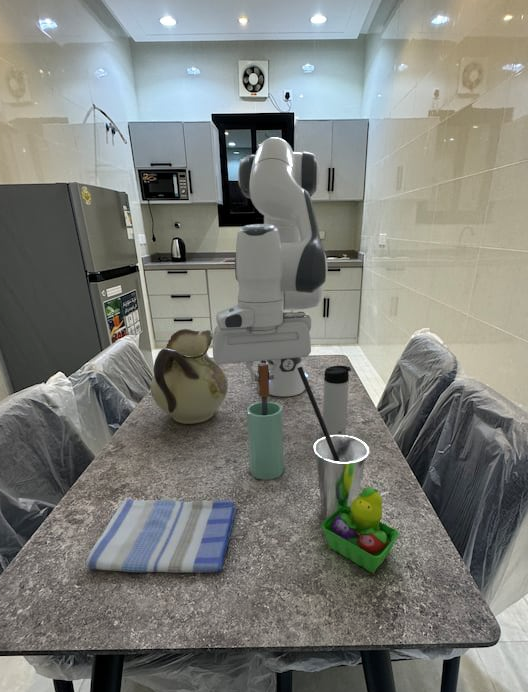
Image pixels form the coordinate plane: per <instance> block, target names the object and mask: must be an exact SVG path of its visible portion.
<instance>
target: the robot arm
mask: <svg viewBox="0 0 528 692" xmlns="http://www.w3.org/2000/svg"><path fill="white" fill-rule="evenodd" d="M237 172H238V173H237V182H238V186H239V189H240V191H241V194H242V195H243V196H244V197H245V198H247V199H250V200H251V201H250V202H251V203H252V205H253V206H254V208H255V209H256V210H257V211H258V212H259V213H260V214H261V215H262V216H263V223H253V224H246V225H244V226H241V227H240V228H239V229H238V231H237V236H236V245H235V246H236V247H235V257H234V272H235V274H234V275H235V280H236V281H237V282H238V294H237V304H236V305H233V306H231V307H229V308H225V309H223V310H220V311H218V312H217V313H216V317H215V319H216V324H217V325H216V326H215V328H214V330H213V333H212V360H213V361H214V362H215V363H217V364H218V365H228V364H239V363H244V365H245V366H246V368H247V370H248V371H249V372H250V379H251V382H259V373H258V370H254V368H253V367H254V362H261V363H267V364H268V369H269V396H274V397H284V398H285V397H294V396H297V395H301V394H302V393H304V391H306V389H305V386H304V384H303V381H302V379H301V377H300V374H299V372H298V369H297V368H299V367H302V368H303V370H304V373H305V375H306V378H308V374H307V373H306V372H307V371H306V365H304V364H303V362H302V358H307V357H309V355H310V354H311V353H312V341H311V334H310V331H311V329H312V318H311V316H310V315H309V314H308V313H305V311H304V310H308V309H312V308H317V307H318V306H319V305H320V303H321V302H322V300H323V297H324V284H326V279H327V276H328V265H329V264H328V259H327V255H326V252H325V250H324V246H323V243H322V239H321V234H320V231H319V226H318V221H317V217H316V212H315V208H314V204H313V200H312V198H311V197H312V196H314V194H315V193H316V192H317V189H318V187H319V184H320V181H321V168H320V163H319V161H318V157H317V156H316V155H315V153H312V152H308V151H302V152H297V151H293V148H292V146H291V145H290V143H289V142H287V141H286V140H285V139H283V138H281V137H269V138H266V139H265V140H263V141H262V142H261V143H260V144H259V146H258V148H257V150H256V152H255V153H251V154H249V155H246V156H244V157H243V158H242V159H241V161H240V162H239V167H238V171H237ZM302 310H303V311H302ZM284 311H285V312H284ZM287 311H290V312H287ZM293 311H297V312H293ZM309 385H310V386H311V384H310V383H309ZM257 388H258V389H257V391H258V393H259V386H258V387H257Z"/></svg>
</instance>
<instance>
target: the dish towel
mask: <svg viewBox="0 0 528 692" xmlns="http://www.w3.org/2000/svg"><path fill="white" fill-rule="evenodd" d="M237 510H238V508H237V507H235V501H234V500H231V499H218V500H217V499H216V500H192V501H178V500H173V499H155V500H154V499H153V500H149V499H148V500H136V499H131V498H126V499H123V500H121V503H120V506H119V507H118V509H116V512H115V513H114V514H113V516H112V517H111V519H110V521H109V522H108V524H107V525H106V527H105V529H104V531H103V532H102V533H101V535H100V537H99V538H98V539H97V541H96V542H95V543H94V546H93V547H92V549H90V552H89V554H88V555H87V557H86V561H85V567H86V569H87V570H99V571H101V570H102V571H114V572H125V573H127V572H128V573H170V574H171V573H172V574H174V573H175V574H178V573H220V572H222V571H223V568H224V563H225V558H226V553H227V550H228V546H229V542H230V538H231V536H232V531H233V527H234V522H235V517H236V513H237Z"/></svg>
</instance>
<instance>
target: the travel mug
mask: <svg viewBox="0 0 528 692" xmlns="http://www.w3.org/2000/svg"><path fill="white" fill-rule="evenodd" d="M351 368H352V367H351V366H347V365H333V366H332V365H331V366H329V367H326V368H325V370H324V374H323V375H324V377H323V399H322V418H323V420H324V423H325V425H326V428H327V430H328V433H329V435H346V431H347V416H348V415H347V414H348V399H349V381H350V380H349V378H350V374H349V373H350V372H351V371H352V369H351ZM321 431H322V430H321ZM323 437H325V436H324V433H323V431H322V432H321V438H323Z"/></svg>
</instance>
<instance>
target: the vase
mask: <svg viewBox="0 0 528 692" xmlns="http://www.w3.org/2000/svg"><path fill="white" fill-rule="evenodd" d="M267 410H268V415H262V401H258V402H253V403H251V404H249V405H248V406H247V408H246V424H247V439H248V440H247V441H248V442H247V443H248V456H249V457H248V459H249V471H250V474H251V476H252V477H254V478H256V479H258V480H265V481H266V480H273V479H277V478H278V477H280V476H281V475H282V474H283V472H284V428H283V427H284V425H283V424H284V423H283V422H284V421H283V407H282V405H281V404H280V403H277V402H273V401H267Z"/></svg>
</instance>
